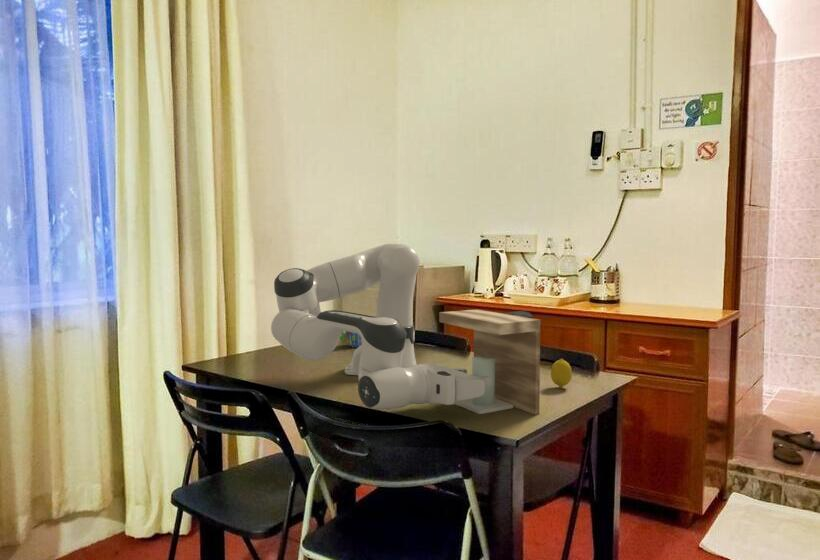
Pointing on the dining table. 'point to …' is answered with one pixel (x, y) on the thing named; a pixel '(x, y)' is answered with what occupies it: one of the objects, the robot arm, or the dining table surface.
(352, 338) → the snack cup
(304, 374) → the dining table surface
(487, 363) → the pale green cylinder
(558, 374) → the lemon
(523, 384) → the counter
